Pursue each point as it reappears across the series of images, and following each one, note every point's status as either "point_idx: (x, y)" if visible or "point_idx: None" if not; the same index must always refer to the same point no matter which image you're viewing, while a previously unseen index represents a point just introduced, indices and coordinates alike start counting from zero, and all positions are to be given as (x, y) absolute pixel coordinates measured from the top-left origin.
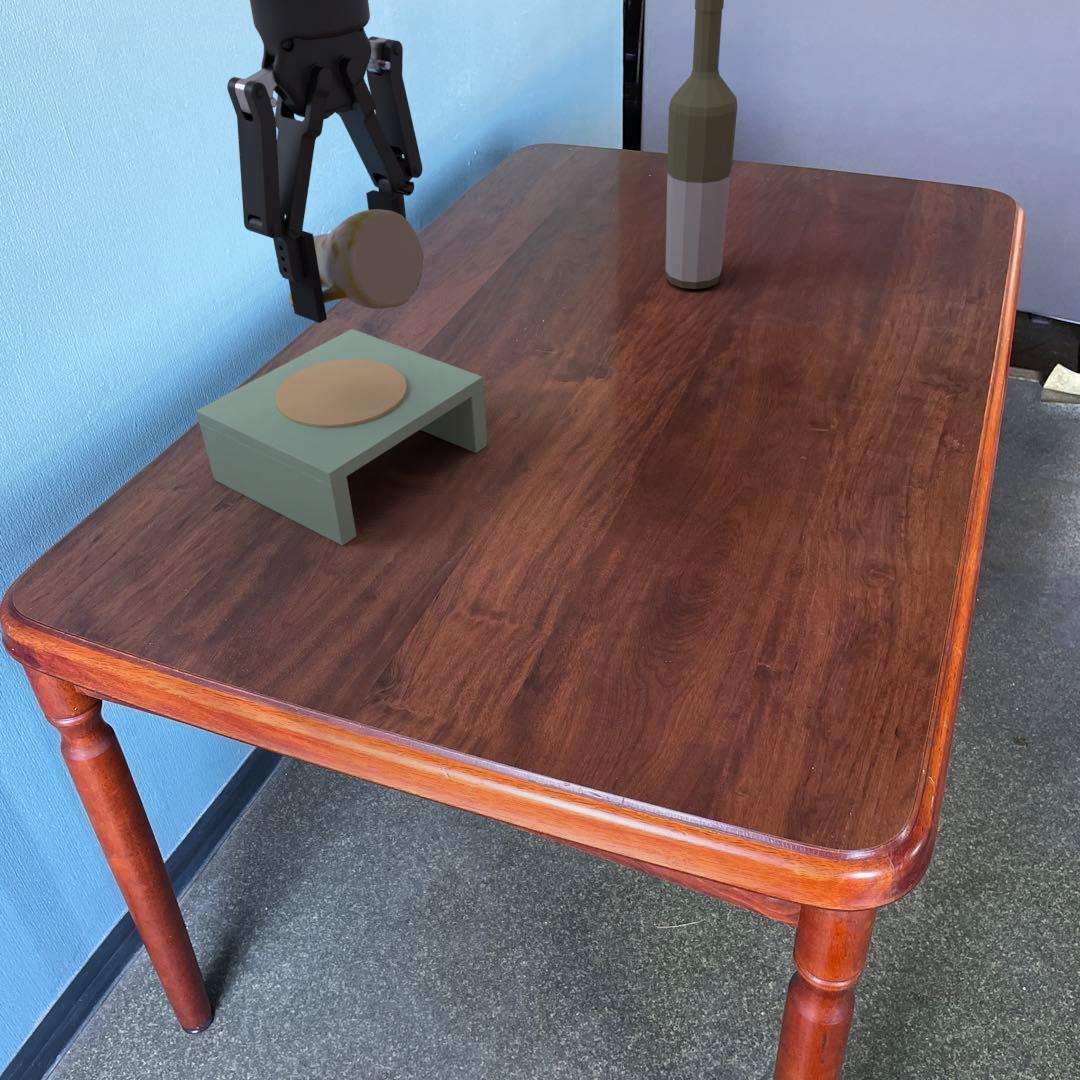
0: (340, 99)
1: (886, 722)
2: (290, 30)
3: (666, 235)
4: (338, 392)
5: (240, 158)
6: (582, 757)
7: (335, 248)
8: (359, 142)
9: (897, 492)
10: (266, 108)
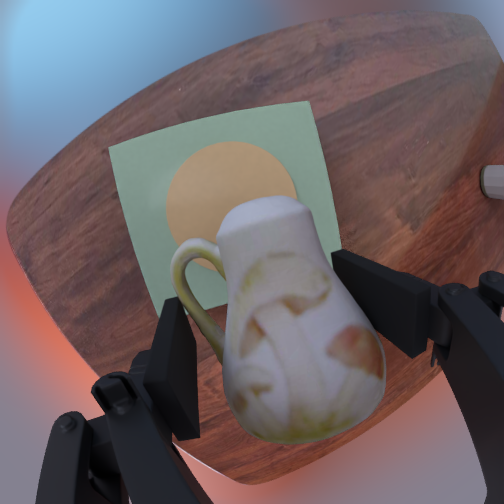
0: None
1: (291, 466)
2: None
3: (501, 169)
4: (229, 209)
5: None
6: (198, 450)
7: (239, 407)
8: (488, 394)
9: (401, 390)
10: None
